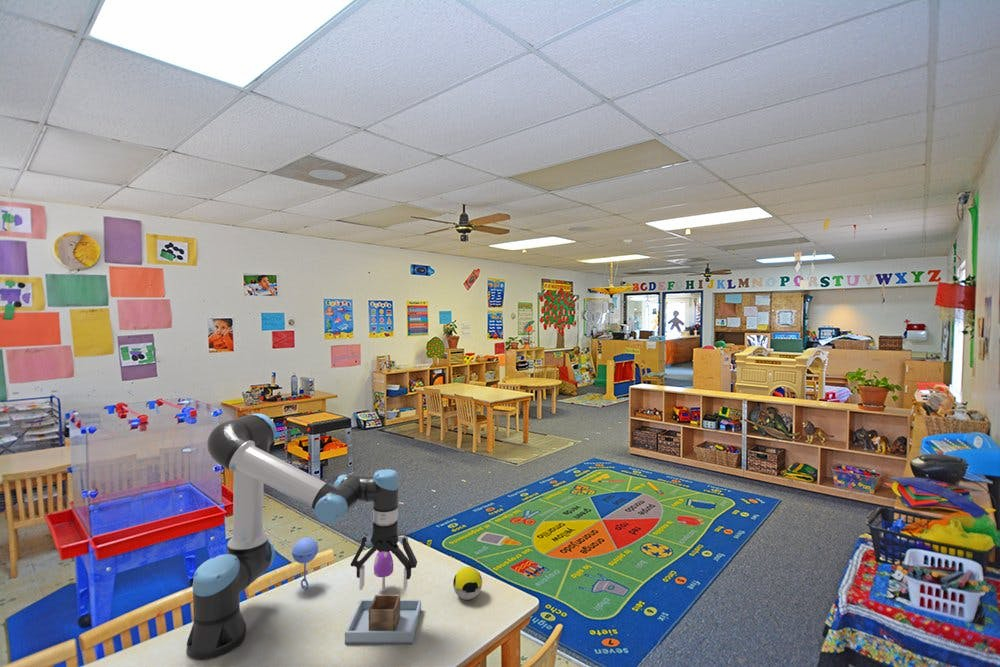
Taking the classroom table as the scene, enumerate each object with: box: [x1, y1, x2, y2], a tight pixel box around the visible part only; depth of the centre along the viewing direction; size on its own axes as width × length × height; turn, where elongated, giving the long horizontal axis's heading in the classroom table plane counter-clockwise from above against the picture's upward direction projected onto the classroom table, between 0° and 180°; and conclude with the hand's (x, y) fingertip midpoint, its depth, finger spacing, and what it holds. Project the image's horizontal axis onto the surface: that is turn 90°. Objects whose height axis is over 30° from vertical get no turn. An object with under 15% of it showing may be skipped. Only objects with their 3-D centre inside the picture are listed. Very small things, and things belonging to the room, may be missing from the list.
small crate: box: [369, 594, 401, 631], centre depth 145 cm, size 8×8×7 cm
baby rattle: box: [291, 537, 319, 590], centre depth 164 cm, size 9×9×18 cm
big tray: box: [344, 599, 422, 645], centre depth 145 cm, size 20×16×4 cm
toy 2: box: [452, 566, 483, 601], centre depth 160 cm, size 10×10×10 cm
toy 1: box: [373, 551, 394, 592], centre depth 163 cm, size 7×7×15 cm
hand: (383, 588), depth 144 cm, fingers open, 13 cm apart
